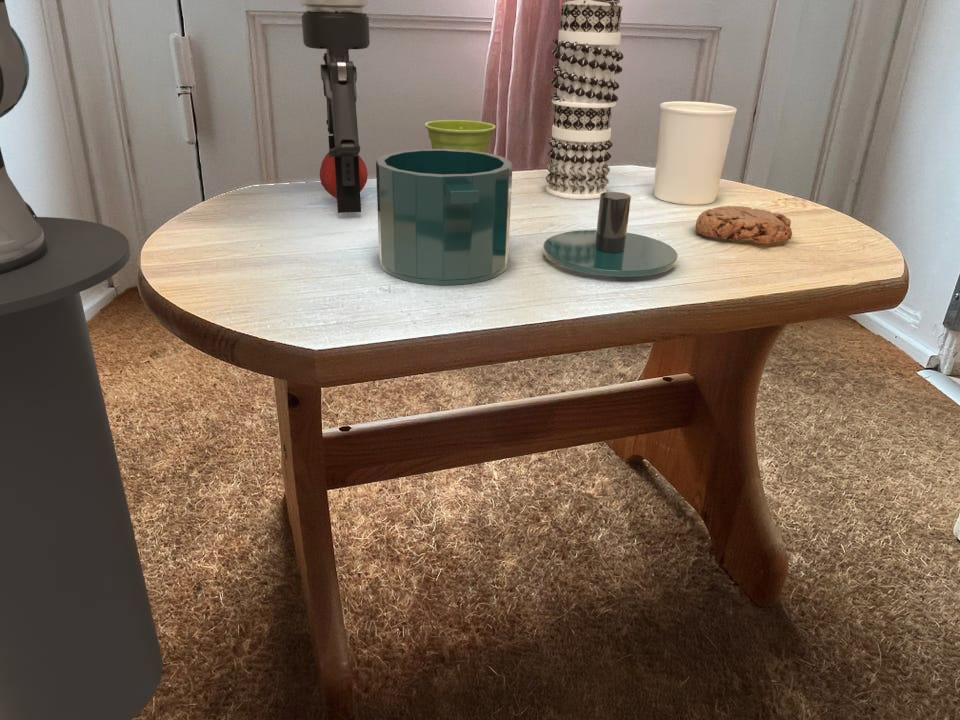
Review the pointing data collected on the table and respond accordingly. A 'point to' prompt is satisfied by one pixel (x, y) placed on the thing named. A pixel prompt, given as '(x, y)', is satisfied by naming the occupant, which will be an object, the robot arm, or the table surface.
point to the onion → (330, 179)
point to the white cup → (691, 150)
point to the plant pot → (460, 134)
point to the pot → (443, 215)
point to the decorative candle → (584, 97)
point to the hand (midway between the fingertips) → (345, 198)
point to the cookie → (744, 224)
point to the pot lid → (610, 245)
